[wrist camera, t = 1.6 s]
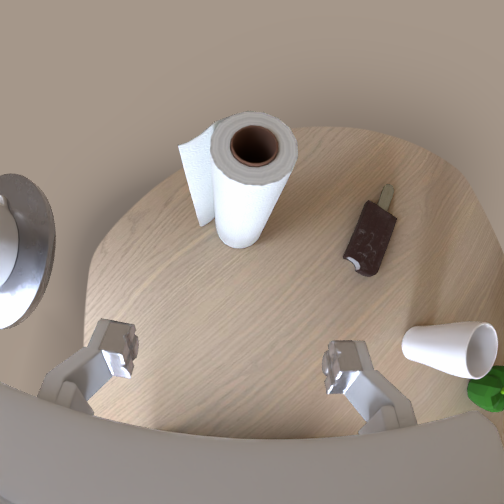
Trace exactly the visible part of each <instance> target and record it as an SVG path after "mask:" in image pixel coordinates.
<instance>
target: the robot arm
mask: <svg viewBox="0 0 504 504" xmlns="http://www.w3.org/2000/svg"><path fill="white" fill-rule="evenodd" d="M18 243H19V238H18V229H17V225H16V222H15V219H14V217H13V216H12V214H11V213H10V211H9V209H8V204H7V199H6V197H5V196H3V195H0V287H1V286H2V285H3V284H4V283H5V282H6V280H7V279H8V277H9V276H10V274H11V272H12V270H13V267H14V265H15V261H16V258H17V253H18ZM135 331H136V328H135V325H134V324H129V323H123V322H118V321H113V320H107V319H102V318H101V319H100V320H99V321H98V323H97V326H96V328H95V330H94V332H93V335H92V337H91V339H90V342H89V344H88V346H87V347H83V348H82V349H80V350H79V351H77V352H76V353H75V354H73V355H72V356H70V357H69V358H68V359H67V360H65V361H64V362H62V363H61V364H59V365H58V366H57V367H55V368H54V369H52V370H51V371H50V372H49V373H47V374H46V376H45V379H44V381H43V383H42V386H41V388H40V391H39V393H38V395H37V397H35V396H33V395H30V394H28V393H25V392H23V391H20V390H18V389H15V388H13V387H11V386H9V385H6V384H4V383H2V382H0V504H504V450H503V446H502V443H501V439H500V436H499V433H498V430H497V428H496V426H495V425H494V424H493V423H492V422H491V421H490V420H489V419H487V418H486V417H485V416H484V415H483V414H481V413H480V412H479V411H476V410H472V411H468V412H465V413H462V414H458V415H455V416H451V417H447V418H444V419H440V420H436V421H432V422H427V423H423V424H417V420H416V417H415V414H414V411H413V407H412V404H411V401H410V400H409V399H407V398H406V397H405V396H404V395H403V394H402V393H401V392H400V391H399V390H398V389H397V388H396V387H395V386H394V385H392V384H391V383H390V382H389V381H388V380H387V379H386V378H385V377H384V376H383V375H382V374H381V373H380V372H379V371H377V370H374V368H373V365H372V361H371V358H370V355H369V352H368V349H367V346H366V343H365V341H352V340H335V341H330V342H329V345H328V349H329V350H328V351H326V352H325V353H324V355H323V359H322V371H323V373H324V374H325V375H326V376H327V377H326V379H325V381H324V382H325V388H326V393H327V394H343V393H345V394H344V395H345V396H346V397H347V398H348V400H349V401H350V402H351V403H352V405H353V406H354V407H355V408H356V410H357V411H358V412H359V413H360V415H361V416H362V417H363V418H364V420H365V421H366V422H367V423H366V424H365V425H364V426H363V427H362V428H361V429H360V430H359V431H358V434H359V435H350V436H340V437H328V438H312V439H239V438H223V437H211V436H201V435H192V434H184V433H177V432H170V431H163V430H157V429H152V428H146V427H141V426H136V425H131V424H126V423H122V422H118V421H113V420H109V419H105V418H101V417H97V416H94V411H93V410H92V408H91V407H90V405H89V404H88V402H87V401H88V400H89V399H90V398H91V397H92V396H93V395H94V394H95V393H96V392H97V391H98V390H99V389H100V388H101V387H102V386H103V385H104V384H105V383H106V382H107V381H108V380H109V379H110V378H111V377H112V376H118V377H124V378H131V375H132V371H133V368H134V364H133V360H134V359H135V358H137V354H138V348H139V341H138V337H137V336H136V335H135Z"/></svg>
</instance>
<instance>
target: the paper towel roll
mask: <svg viewBox="0 0 504 504" xmlns="http://www.w3.org/2000/svg"><path fill="white" fill-rule="evenodd" d="M178 148H179V152H180V155H181V159H182V163H183V167H184V171H185V174H186V178H187V182H188V185H189V189H190V193H191V196H192V200H193V203H194V207H195V211H196V214H197V218H198V221H199V225H200V226H204V225H206V224H207V223H209V222H210V221H211V220H212V219H213V218H214V217H215V223H216V230H217V233H218V236H219V238H220V239H221V240H222V241H223V242H224V243H225V244H226V245H228V246H230V247H233V248H245V247H248V246H251V245H252V244H253V243H255V242H256V241H257V240H258V238H259V236H260V234H261V232H262V230H263V228H264V226H265V224H266V222H267V220H268V218H269V216H270V214H271V212H272V210H273V208H274V206H275V204H276V202H277V200H278V198H279V196H280V194H281V192H282V190H283V188H284V186H285V184H286V182H287V180H288V178H289V176H290V174H291V172H292V170H293V168H294V165H295V163H296V161H297V159H298V145H297V140H296V139H295V137H294V135H293V133H292V131H291V129H290V128H289V127H288V126H287V125H286V124H285V123H283V122H282V121H281V120H280V119H279V118H276V117H274V116H272V115H269V114H267V113H264V112H254V111H246V112H242V113H239V114H235V115H232V116H229V117H226V118H224V119H221V120H218V121H216V122H214V123H213V124H212V125H210V126H209V127H208V128H207V129H206V130H205V131H204V132H202V133H201V134H200V135H199V136H197V137H195V138H194V139H192V140H190V141H189V142H187V143H183V144H180V145H178Z"/></svg>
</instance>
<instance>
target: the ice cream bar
mask: <svg viewBox="0 0 504 504" xmlns="http://www.w3.org/2000/svg"><path fill="white" fill-rule="evenodd" d="M393 193H394V188H393V186H392V185H390V184H386V185H385V186H384V188H383V191H382V193H381V196H380V199H379V202H378V204H375V203H373V202H371V201H369V200H368V201H367V202H366V203H365V205H364V208H363V210H362V213H361V215H360V218H359V220H358V223H357V225H356V227H355V230H354V232H353V235H352V237H351V239H350V242H349V244H348V246H347V249H346V251H345V253H344V256H343V258H344V259H347V260H349V261H351V262H352V263H353V264H354V266H355V268H356V269H355V271H356V272H358V273H360V274H361V275H363V276H367V277H370V276H373V275H375V274H376V273H377V272H378V270H379V267H380V264H381V262H382V259H383V257H384V254H385V251H386V249H387V246H388V243H389V240H390V238H391V235H392V232H393V229H394V226H395V223H396V220H397V218H396V217H394V216H393V215H392V214H390V213H388V212H387V210H388V207H389V205H390V202H391V199H392V196H393Z"/></svg>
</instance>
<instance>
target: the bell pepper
mask: <svg viewBox="0 0 504 504" xmlns="http://www.w3.org/2000/svg"><path fill="white" fill-rule="evenodd" d="M467 392H468V397H469V398H470V399H471V400H472V401H473V402H474V403H475V404H476V405H478V406H479V407H481V408H483V409H485V410H487V411H490V412H500V411H503V410H504V366H492V368H491V369H490V371H489V372H488V373H487V374H486V375H485V376H484V377H482V378H480V379H471V380H470V382H469V384H468V388H467Z"/></svg>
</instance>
